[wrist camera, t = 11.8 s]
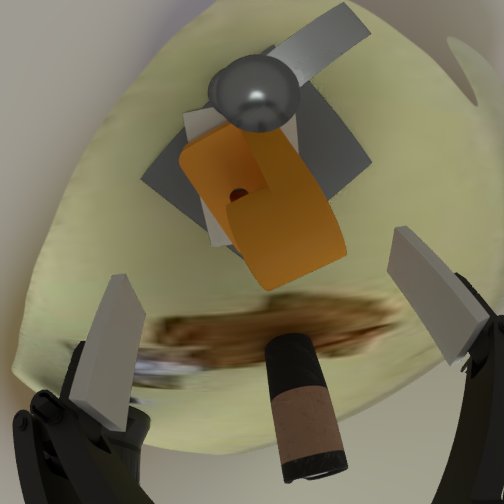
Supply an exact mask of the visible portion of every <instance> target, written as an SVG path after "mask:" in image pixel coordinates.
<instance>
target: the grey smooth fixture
mask: <svg viewBox="0 0 504 504" xmlns="http://www.w3.org/2000/svg"><path fill="white" fill-rule="evenodd" d="M369 35H371V32H370V31H369V30H368V29H367V27H366V26H365V25H364V24H363V23H362V22H361V20H360V19H359V18H358V17H357V16H356V15H355V13H354V12H353V11H352V10H351V9H350V8H349V7H348V6H347V5H346V4H345V3H344V2H343V3H341V4H339V5H337V6H336V7H334V8H332V9H331V10H329V11H327V12H326V13H324V14H323V15H321V16H320V17H318V18H317V19H315V20H314V21H312V22H311V23H309V24H308V25H306V26H305V27H303V28H302V29H300V30H299V31H298V32H296V33H295V34H293V35H292V36H291V37H289V38H288V39H287V40H285V41H284V42H283V43H281V44H280V45H279V46H277V47H276V48H275V49H274V50H272V51H271V52H270V53H269V54H267V55H248V56H245V57H242V58H239V59H237V60H235V61H234V62H232V63H231V64H230V65H228V66H227V67H226V68H224V69H222V70H221V71H219V72H218V73H217V74H216V75H215V76H214V77H213V78H212V80H211V82H210V84H209V88H208V97H209V100H210V103H211V105H212V106H213V108H214V109H215V110H216V111H217V112H219V113H220V114H222V115H223V116H224V117H225V118H226V120H227V121H228V122H230V123H231V124H232V125H234V126H235V127H237V128H239V129H241V130H244V131H247V132H253V133H264V132H269V131H272V130H275V129H278V128H280V127H281V126H283V125H284V124H286V123H287V122H288V121H289V120H290V119H291V118H292V117H293V115H294V114H295V112H296V110H297V108H298V106H299V102H300V87H301V86H302V85H303V84H304V83H306V82H307V81H308V80H309V79H311V78H312V77H313V76H314V75H316V74H317V73H318V72H320V71H321V70H322V69H323V68H325V67H326V66H327V65H329V64H330V63H331V62H333V61H334V60H335V59H337V58H338V57H339V56H341V55H342V54H343V53H345V52H346V51H348V50H349V49H350V48H352V47H353V46H355V45H356V44H357V43H359V42H360V41H362V40H363V39H365V38H366V37H368V36H369Z"/></svg>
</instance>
